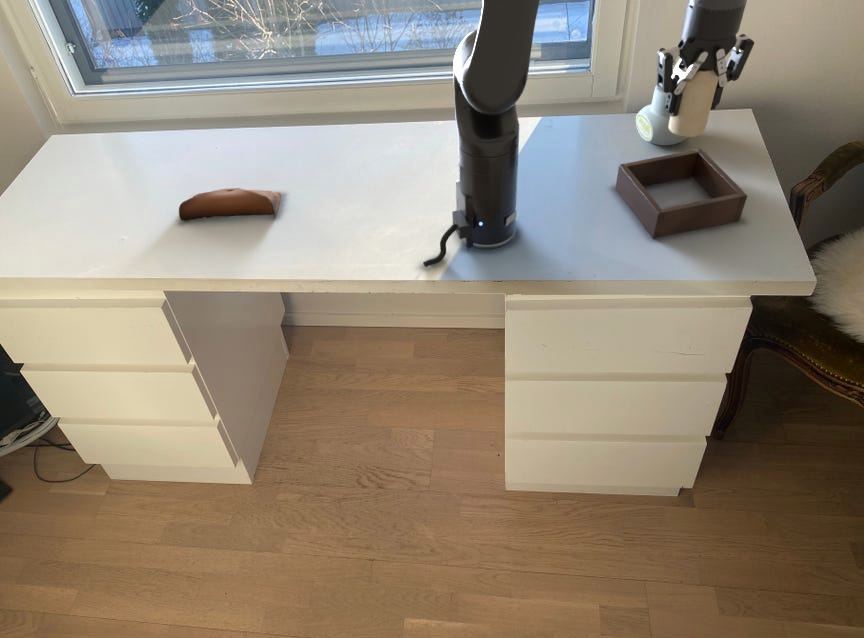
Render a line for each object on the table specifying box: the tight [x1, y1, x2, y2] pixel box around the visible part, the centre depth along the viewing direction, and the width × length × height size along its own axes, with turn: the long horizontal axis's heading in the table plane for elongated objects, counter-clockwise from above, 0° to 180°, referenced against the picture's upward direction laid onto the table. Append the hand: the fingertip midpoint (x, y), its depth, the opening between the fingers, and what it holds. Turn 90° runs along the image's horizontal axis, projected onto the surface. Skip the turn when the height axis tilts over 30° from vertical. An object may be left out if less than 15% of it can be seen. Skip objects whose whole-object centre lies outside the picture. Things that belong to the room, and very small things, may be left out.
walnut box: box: [614, 148, 748, 239], centre depth 121 cm, size 15×15×5 cm
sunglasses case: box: [178, 187, 282, 221], centre depth 134 cm, size 18×7×7 cm
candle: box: [669, 67, 719, 138], centre depth 110 cm, size 6×6×10 cm
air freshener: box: [635, 84, 689, 146], centre depth 134 cm, size 11×8×10 cm
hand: (690, 110), depth 111 cm, fingers closed on candle, 5 cm apart
